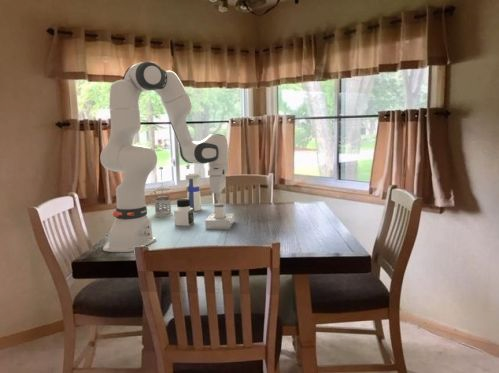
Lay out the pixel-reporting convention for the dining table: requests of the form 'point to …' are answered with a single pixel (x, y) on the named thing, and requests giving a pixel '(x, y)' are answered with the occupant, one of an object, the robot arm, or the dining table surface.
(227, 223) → the socket
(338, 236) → the dining table surface
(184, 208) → the medicine bottle
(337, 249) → the dining table surface
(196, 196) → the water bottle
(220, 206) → the plug
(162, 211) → the french press
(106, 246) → the robot arm
